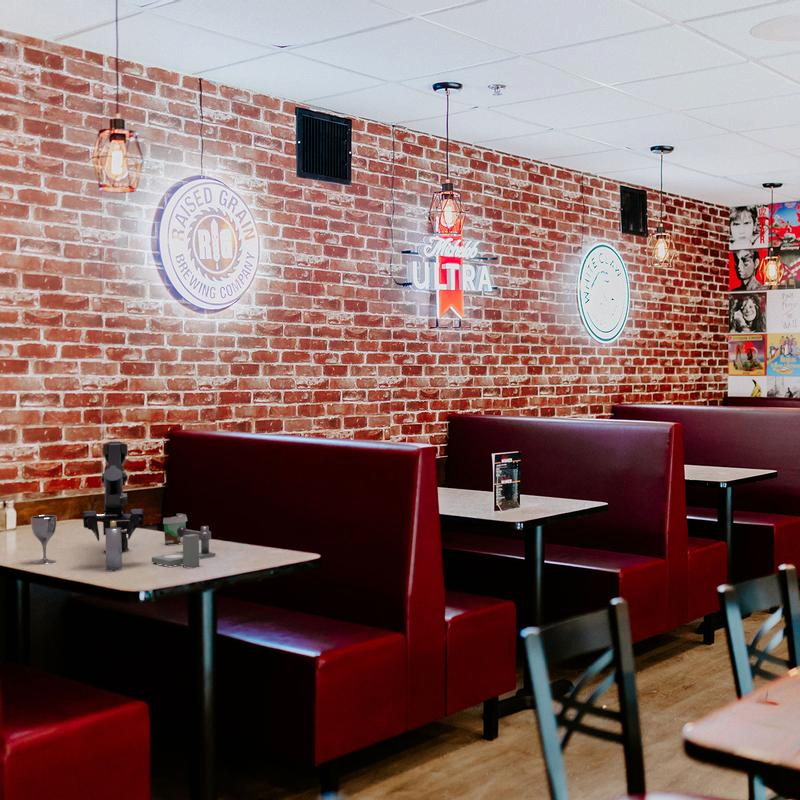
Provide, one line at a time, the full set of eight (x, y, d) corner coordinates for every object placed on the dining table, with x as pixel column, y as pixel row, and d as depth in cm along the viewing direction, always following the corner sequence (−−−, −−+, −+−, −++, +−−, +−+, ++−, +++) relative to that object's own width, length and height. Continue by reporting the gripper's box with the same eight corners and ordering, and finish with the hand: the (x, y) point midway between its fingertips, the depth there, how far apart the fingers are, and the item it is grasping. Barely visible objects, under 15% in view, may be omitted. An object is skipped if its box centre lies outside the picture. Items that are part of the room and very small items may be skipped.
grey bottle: (103, 570, 312) (102, 521, 312) (110, 567, 317) (110, 519, 317) (117, 571, 311) (116, 522, 311) (124, 568, 316) (123, 519, 316)
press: (151, 563, 324) (151, 532, 324) (205, 554, 340) (205, 525, 340) (180, 569, 313) (180, 537, 313) (235, 559, 329) (234, 529, 329)
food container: (179, 546, 357) (178, 518, 357) (163, 545, 358) (162, 517, 358) (193, 540, 369) (192, 513, 369) (177, 540, 370) (177, 513, 370)
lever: (174, 548, 344) (173, 523, 344) (184, 547, 347) (183, 522, 347) (203, 554, 333) (203, 527, 333) (213, 552, 336) (213, 526, 336)
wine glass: (62, 560, 331) (61, 515, 331) (46, 564, 324) (45, 518, 323) (42, 559, 334) (41, 514, 333) (26, 563, 326) (25, 517, 326)
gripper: (82, 486, 318) (81, 525, 308) (143, 483, 323) (143, 522, 313) (84, 507, 326) (83, 546, 316) (143, 505, 331) (144, 543, 320)
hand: (113, 539), depth 316 cm, fingers open, 9 cm apart
